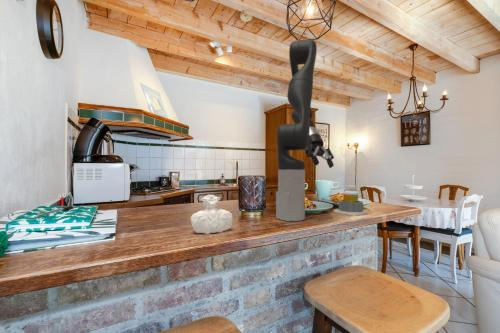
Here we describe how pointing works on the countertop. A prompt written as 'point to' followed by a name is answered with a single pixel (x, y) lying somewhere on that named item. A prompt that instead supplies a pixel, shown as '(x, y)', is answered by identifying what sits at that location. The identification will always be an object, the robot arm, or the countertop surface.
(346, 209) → the grey low cylinder
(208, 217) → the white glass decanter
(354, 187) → the beer glass
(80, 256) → the countertop surface
